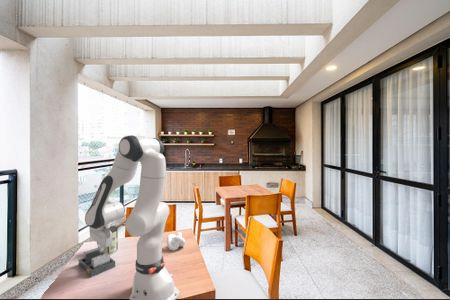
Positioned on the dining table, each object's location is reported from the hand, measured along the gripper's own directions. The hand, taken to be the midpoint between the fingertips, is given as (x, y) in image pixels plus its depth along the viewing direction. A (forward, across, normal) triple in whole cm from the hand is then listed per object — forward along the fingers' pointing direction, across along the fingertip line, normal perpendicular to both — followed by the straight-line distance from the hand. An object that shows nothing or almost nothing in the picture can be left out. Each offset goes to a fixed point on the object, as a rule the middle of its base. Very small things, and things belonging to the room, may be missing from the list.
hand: (100, 250), depth 112 cm
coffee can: (+11, +18, -12) cm, 24 cm away
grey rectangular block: (+9, 0, 0) cm, 9 cm away
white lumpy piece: (+10, -11, -42) cm, 44 cm away
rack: (+10, +5, 0) cm, 12 cm away
